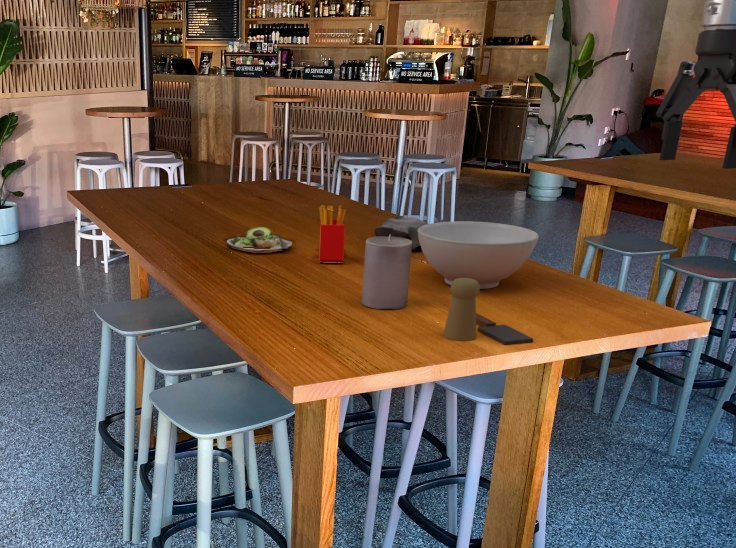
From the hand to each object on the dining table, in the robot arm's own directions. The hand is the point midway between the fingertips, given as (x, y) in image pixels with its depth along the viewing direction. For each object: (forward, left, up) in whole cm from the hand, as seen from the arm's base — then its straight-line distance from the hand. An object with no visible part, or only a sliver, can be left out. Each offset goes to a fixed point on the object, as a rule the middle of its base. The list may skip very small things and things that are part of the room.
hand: (697, 164), depth 136 cm
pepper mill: (+12, +35, -32) cm, 49 cm away
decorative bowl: (+47, +11, -32) cm, 58 cm away
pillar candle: (+36, +39, -32) cm, 62 cm away
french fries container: (+78, +34, -32) cm, 91 cm away
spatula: (+14, +27, -32) cm, 44 cm away
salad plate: (+99, +47, -32) cm, 114 cm away
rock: (+88, +8, -32) cm, 94 cm away
